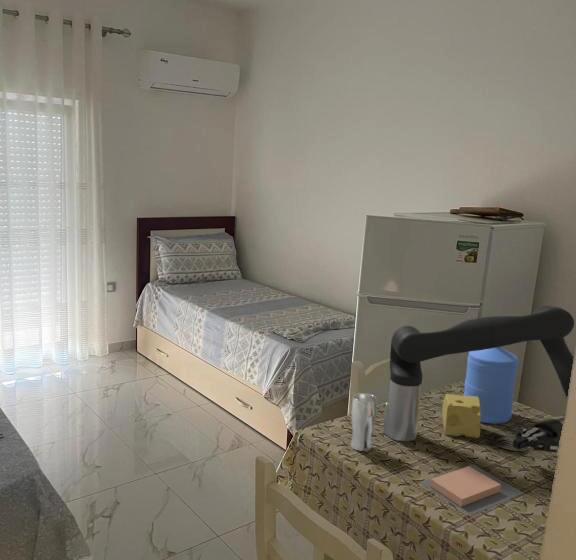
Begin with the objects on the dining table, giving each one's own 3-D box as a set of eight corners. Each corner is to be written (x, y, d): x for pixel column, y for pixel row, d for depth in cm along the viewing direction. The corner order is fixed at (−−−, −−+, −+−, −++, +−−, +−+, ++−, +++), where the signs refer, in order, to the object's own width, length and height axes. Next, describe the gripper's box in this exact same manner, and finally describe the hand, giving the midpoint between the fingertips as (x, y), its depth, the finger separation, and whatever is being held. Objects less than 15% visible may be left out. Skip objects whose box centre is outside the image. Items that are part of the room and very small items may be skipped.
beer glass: (343, 446, 164) (347, 396, 161) (358, 438, 169) (361, 390, 166) (363, 455, 159) (367, 404, 157) (377, 447, 164) (382, 398, 162)
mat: (419, 484, 146) (419, 482, 146) (472, 466, 156) (472, 464, 156) (468, 517, 133) (469, 515, 132) (523, 495, 143) (523, 493, 143)
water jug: (492, 429, 180) (503, 343, 175) (451, 410, 193) (460, 330, 187) (520, 418, 189) (531, 337, 184) (480, 401, 202) (489, 325, 196)
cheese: (479, 440, 172) (483, 409, 170) (442, 435, 174) (445, 404, 172) (475, 425, 182) (479, 396, 180) (440, 421, 184) (443, 391, 182)
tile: (468, 473, 151) (430, 487, 144) (469, 466, 151) (430, 479, 143) (499, 492, 143) (461, 507, 135) (500, 484, 142) (462, 499, 135)
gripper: (536, 410, 165) (496, 421, 156) (579, 428, 154) (539, 442, 145) (532, 434, 166) (493, 447, 157) (575, 454, 156) (535, 469, 146)
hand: (515, 444), depth 151 cm, fingers closed
